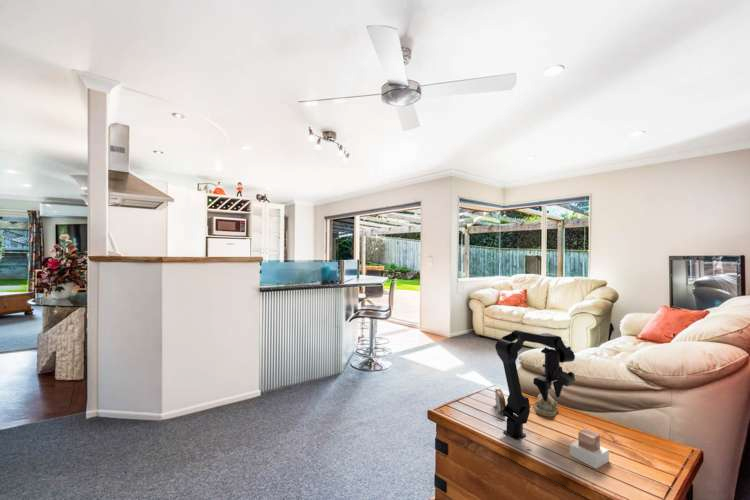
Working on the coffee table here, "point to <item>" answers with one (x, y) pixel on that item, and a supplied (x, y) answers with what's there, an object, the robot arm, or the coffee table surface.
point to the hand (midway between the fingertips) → (551, 399)
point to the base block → (589, 455)
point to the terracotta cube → (589, 440)
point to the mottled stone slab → (500, 400)
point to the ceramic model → (545, 406)
